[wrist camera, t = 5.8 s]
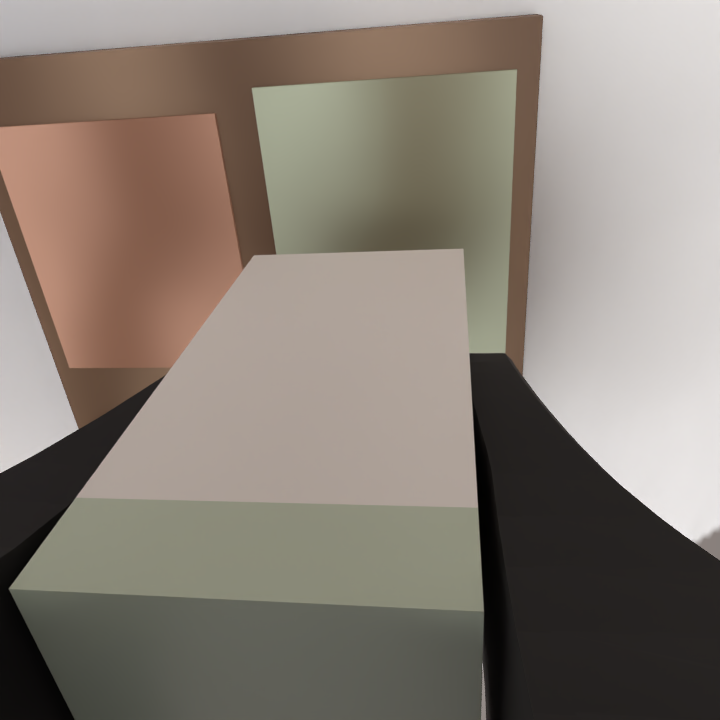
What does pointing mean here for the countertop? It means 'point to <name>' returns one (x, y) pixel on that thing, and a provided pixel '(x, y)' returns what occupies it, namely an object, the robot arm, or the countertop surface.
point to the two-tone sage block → (284, 512)
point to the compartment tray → (261, 178)
